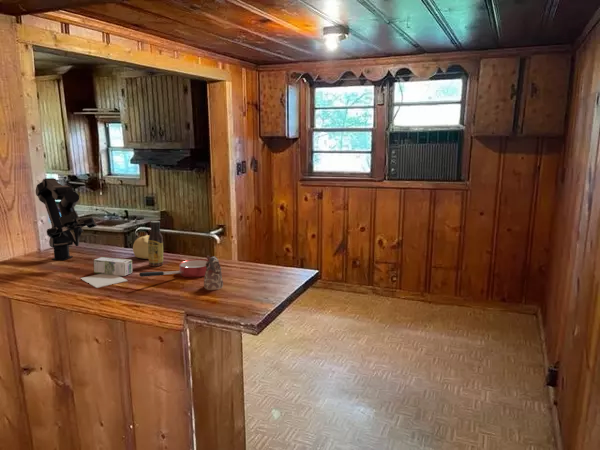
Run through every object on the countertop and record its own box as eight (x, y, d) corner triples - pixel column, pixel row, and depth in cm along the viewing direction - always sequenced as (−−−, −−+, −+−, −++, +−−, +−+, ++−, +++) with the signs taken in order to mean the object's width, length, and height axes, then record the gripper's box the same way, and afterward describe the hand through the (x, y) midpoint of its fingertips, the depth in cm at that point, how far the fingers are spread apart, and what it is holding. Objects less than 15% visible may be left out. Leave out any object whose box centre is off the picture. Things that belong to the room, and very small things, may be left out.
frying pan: (157, 293, 156) (156, 276, 155) (134, 287, 163) (133, 270, 162) (218, 272, 183) (217, 257, 182) (196, 267, 190) (195, 253, 189)
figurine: (214, 291, 159) (213, 259, 157) (200, 287, 163) (198, 257, 160) (227, 286, 165) (226, 255, 163) (213, 282, 169) (212, 253, 166)
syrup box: (101, 269, 183) (133, 272, 181) (93, 273, 178) (125, 276, 175) (101, 256, 183) (133, 259, 180) (92, 259, 177) (125, 262, 174)
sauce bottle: (145, 266, 191) (143, 221, 187) (155, 262, 196) (153, 219, 193) (157, 267, 188) (155, 222, 185) (167, 264, 194) (164, 220, 190)
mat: (80, 278, 172) (80, 278, 172) (110, 272, 181) (110, 271, 181) (96, 288, 161) (96, 287, 161) (127, 281, 170) (127, 280, 170)
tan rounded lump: (155, 260, 199) (154, 238, 197) (129, 260, 200) (128, 237, 198) (163, 254, 211) (162, 233, 209) (139, 254, 211) (137, 232, 209)
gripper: (38, 213, 177) (47, 247, 174) (86, 200, 183) (95, 234, 179) (47, 221, 187) (55, 254, 184) (92, 209, 193) (101, 241, 190)
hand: (77, 245), depth 184 cm, fingers closed
